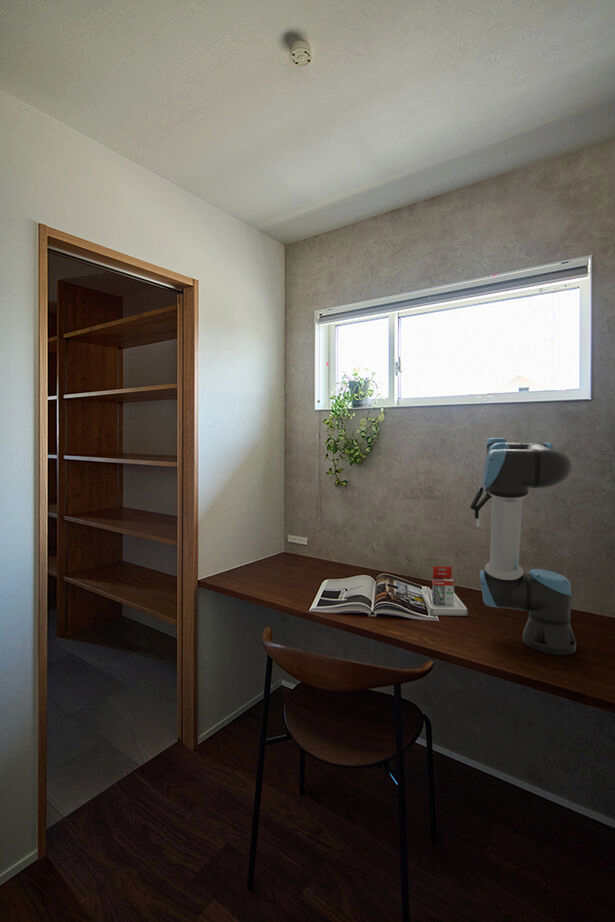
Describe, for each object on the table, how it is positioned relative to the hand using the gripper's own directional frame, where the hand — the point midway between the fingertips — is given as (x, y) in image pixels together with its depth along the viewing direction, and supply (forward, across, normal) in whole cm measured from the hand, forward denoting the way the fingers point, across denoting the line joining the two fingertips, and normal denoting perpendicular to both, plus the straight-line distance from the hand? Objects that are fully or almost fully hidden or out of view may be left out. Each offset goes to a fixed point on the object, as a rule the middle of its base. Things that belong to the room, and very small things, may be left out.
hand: (495, 526), depth 179 cm
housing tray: (+31, +23, +7) cm, 39 cm away
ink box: (+30, +23, +7) cm, 39 cm away
